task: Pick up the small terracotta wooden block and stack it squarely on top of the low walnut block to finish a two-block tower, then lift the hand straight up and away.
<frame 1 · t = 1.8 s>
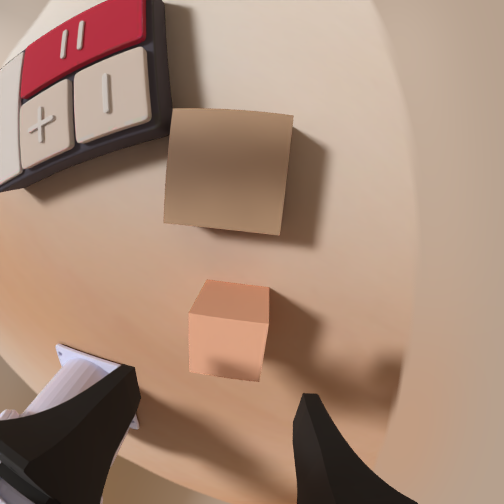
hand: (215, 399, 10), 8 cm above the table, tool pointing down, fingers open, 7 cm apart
calculator: (80, 95, 15), on the table
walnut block: (232, 169, 16), on the table
terracotta block: (235, 310, 18), on the table
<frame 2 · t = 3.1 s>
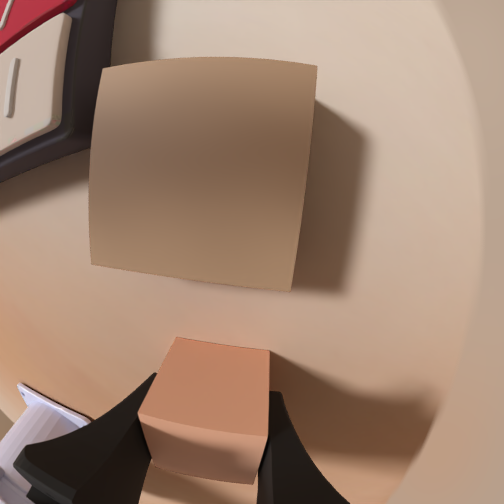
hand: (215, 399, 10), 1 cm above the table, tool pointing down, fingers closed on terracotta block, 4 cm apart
calculator: (16, 88, 9), on the table
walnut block: (209, 167, 9), on the table
terracotta block: (220, 378, 12), on the table, touching gripper
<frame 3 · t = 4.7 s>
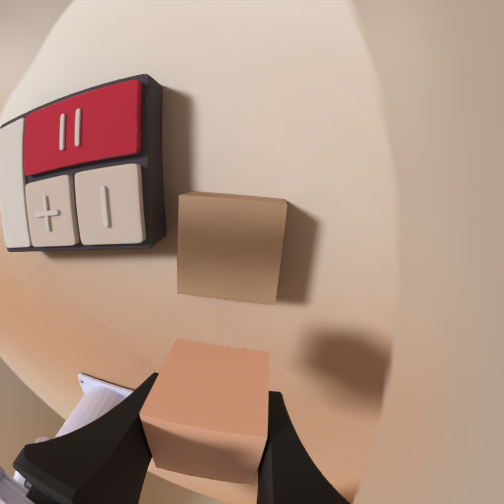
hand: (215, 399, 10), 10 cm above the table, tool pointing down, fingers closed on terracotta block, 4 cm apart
calculator: (81, 171, 18), on the table
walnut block: (234, 239, 19), on the table
terracotta block: (220, 379, 12), point 8 cm above the table, touching gripper
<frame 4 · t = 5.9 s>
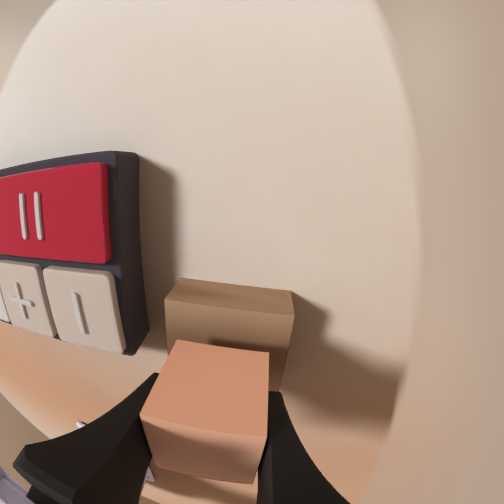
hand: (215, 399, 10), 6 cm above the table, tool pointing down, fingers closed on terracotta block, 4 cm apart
calculator: (55, 242, 15), on the table
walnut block: (231, 328, 16), on the table
terracotta block: (220, 379, 12), point 4 cm above the table, touching gripper
when the fingers open (5 cm above the table, at t = 6.7 s): terracotta block drops 1 cm, resting on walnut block.
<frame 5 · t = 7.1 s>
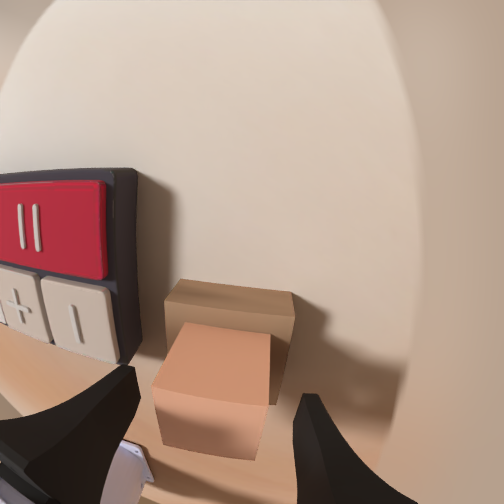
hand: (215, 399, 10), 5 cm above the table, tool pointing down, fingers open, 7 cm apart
calculator: (53, 248, 16), on the table
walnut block: (231, 329, 16), on the table, touching terracotta block
terracotta block: (224, 361, 13), point 3 cm above the table, touching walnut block
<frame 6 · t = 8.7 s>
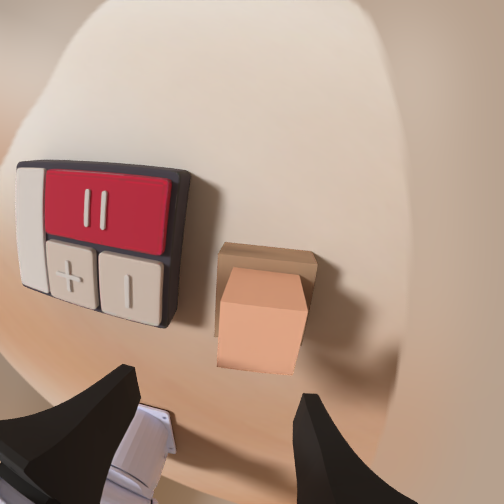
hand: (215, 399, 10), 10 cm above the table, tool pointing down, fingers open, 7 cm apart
calculator: (101, 229, 20), on the table
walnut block: (263, 285, 20), on the table
terracotta block: (262, 300, 17), point 3 cm above the table
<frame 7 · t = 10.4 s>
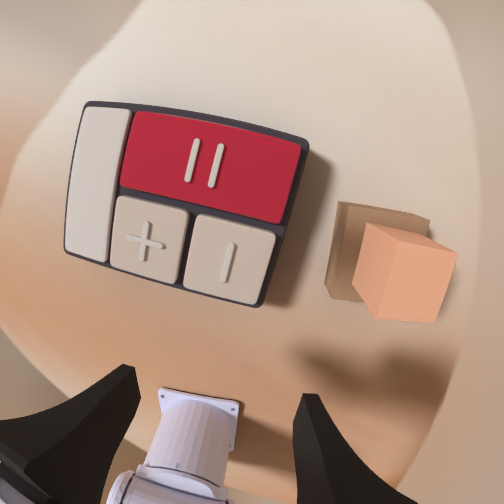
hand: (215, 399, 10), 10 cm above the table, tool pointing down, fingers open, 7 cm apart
calculator: (179, 193, 19), on the table
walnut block: (368, 246, 19), on the table
terracotta block: (386, 258, 16), point 3 cm above the table
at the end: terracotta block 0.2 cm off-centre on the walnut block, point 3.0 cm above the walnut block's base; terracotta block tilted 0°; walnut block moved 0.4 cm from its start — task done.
